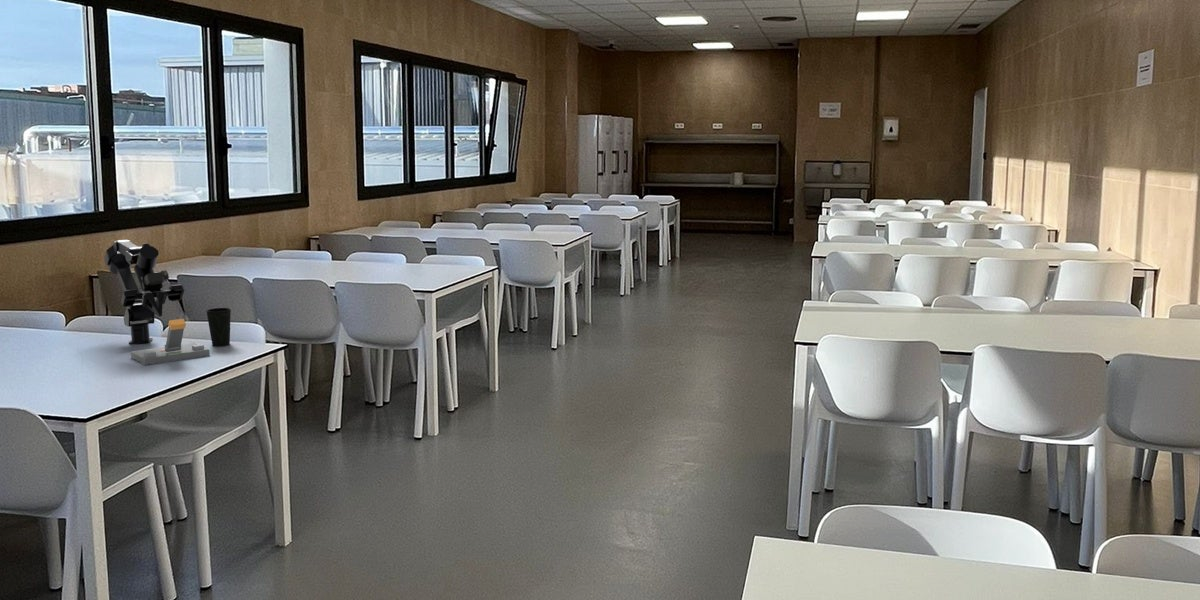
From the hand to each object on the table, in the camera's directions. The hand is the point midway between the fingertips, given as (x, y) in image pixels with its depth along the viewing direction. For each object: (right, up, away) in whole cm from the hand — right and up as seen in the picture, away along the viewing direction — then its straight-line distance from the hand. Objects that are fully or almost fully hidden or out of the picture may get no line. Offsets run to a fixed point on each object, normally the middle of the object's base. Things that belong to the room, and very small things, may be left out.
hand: (160, 315), depth 336 cm
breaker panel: (+4, -13, -3) cm, 14 cm away
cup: (+14, -10, +15) cm, 23 cm away
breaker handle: (+6, -11, -5) cm, 13 cm away
